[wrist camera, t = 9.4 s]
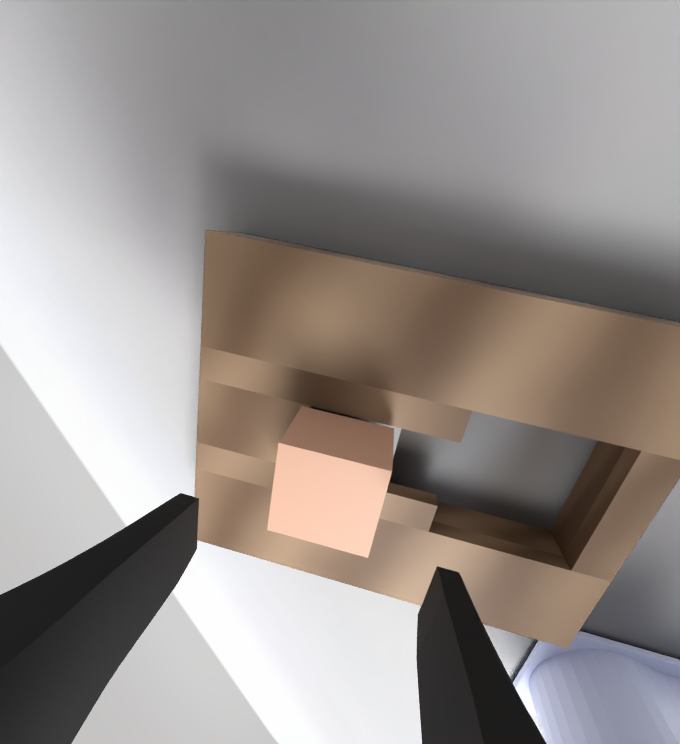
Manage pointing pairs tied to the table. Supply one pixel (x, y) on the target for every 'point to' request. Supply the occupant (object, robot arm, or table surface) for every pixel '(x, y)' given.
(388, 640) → the table surface
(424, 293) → the keyhole plate
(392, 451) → the peach colored cube
